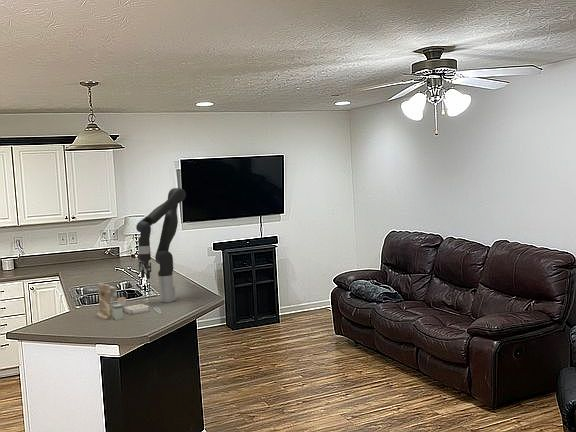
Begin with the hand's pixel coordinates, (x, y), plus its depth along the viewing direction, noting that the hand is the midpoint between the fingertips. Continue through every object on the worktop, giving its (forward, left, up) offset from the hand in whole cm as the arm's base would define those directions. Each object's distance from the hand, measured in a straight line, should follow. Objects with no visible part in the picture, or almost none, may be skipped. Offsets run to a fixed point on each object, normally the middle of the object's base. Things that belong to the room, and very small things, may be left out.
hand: (145, 278), depth 389 cm
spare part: (+18, +4, -17) cm, 25 cm away
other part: (+28, +24, -17) cm, 41 cm away
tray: (+13, +15, -17) cm, 26 cm away
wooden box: (+30, +12, -17) cm, 36 cm away
